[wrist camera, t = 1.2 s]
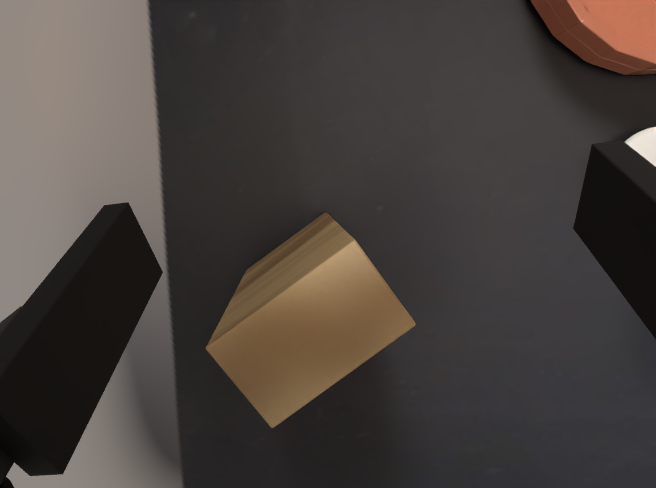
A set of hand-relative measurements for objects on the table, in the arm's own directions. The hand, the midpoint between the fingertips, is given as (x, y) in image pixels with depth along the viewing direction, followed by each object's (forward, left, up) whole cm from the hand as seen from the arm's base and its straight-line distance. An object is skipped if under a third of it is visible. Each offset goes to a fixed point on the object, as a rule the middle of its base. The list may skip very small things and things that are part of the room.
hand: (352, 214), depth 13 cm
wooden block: (+3, -3, -14) cm, 15 cm away
